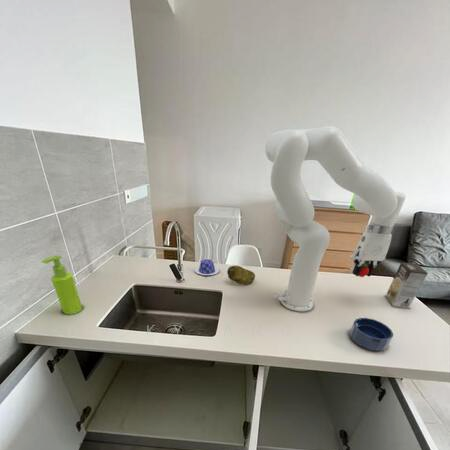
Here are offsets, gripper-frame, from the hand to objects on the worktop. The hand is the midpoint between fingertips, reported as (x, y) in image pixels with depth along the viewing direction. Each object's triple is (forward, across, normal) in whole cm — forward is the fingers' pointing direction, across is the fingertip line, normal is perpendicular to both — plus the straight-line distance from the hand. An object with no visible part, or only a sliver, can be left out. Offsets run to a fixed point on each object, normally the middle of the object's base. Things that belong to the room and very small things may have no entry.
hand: (361, 274), depth 97 cm
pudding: (+13, -60, +28) cm, 67 cm away
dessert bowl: (+12, -9, -26) cm, 30 cm away
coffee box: (+11, +19, -3) cm, 22 cm away
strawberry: (+1, 0, 0) cm, 1 cm away
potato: (+13, -45, +15) cm, 49 cm away
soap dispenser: (+14, -109, -5) cm, 110 cm away
